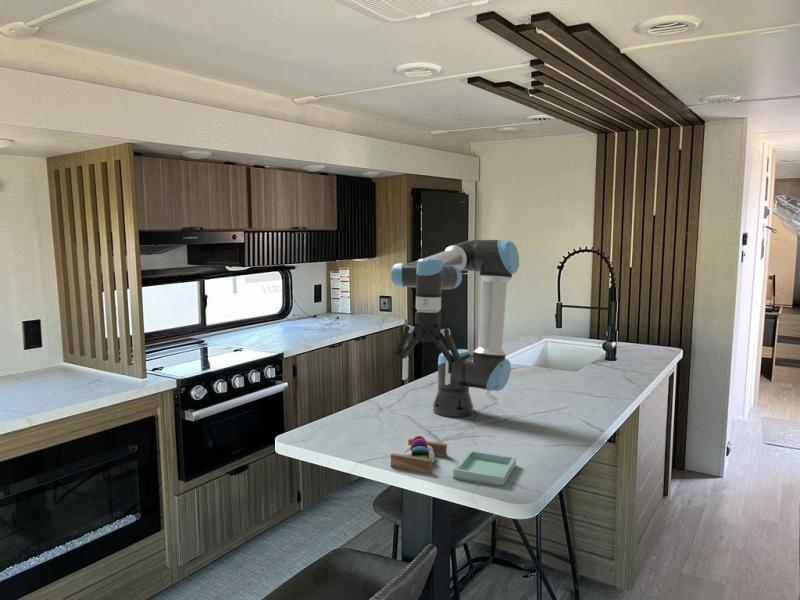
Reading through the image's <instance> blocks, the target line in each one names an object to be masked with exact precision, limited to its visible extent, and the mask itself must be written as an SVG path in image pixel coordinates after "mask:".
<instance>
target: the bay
mask: <svg viewBox="0 0 800 600" xmlns="http://www.w3.org/2000/svg"><path fill="white" fill-rule="evenodd" d="M413 439H414V438H408V440H407V441H408V442H407V443H408V445H407V446H409V445H412V444H411V442H412V440H413ZM426 442H427V445H429V446H431V447H432V448H433V453H434V455H435V457H436V456H438V457H444V458H446V457H447V456H448V455H447V454H448V452H447V451H448V444H447V443H441V442H436V441H431V440H430V441H429V440H426ZM432 465H433V463H432V459H426V458H420V457H414V456H407V455H405V454H400V453H394V452H392V453H391V454H390V467H391V468H392V467H393V468H397V469H404V470H409V471H415V472H421V473H424V474H425V473H426V474H431V473H432V472H433V471H432V467H433V466H432Z"/></svg>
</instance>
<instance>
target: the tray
mask: <svg viewBox="0 0 800 600" xmlns="http://www.w3.org/2000/svg"><path fill="white" fill-rule="evenodd" d="M516 466H517V457H516V456H511V455H510V456H509V455H504V454H498V453H490V452H483V451H477V450H472V449H471V450H469V451H467V452H466V454H465V455H464V456H463V457H462V459H461V460H460V461H459V462H458V463H457V464H456V466H455V467H454V468H453V469H452V470H453V471H452V478H453V479H455V480H462V481H468V482H473V483H479V484H484V485H490V486H496V487H501V488H503V487H504V486H505V484H506V483H507V481H508V480H509V478H510V476H511V475H512V473H513V471H514V469H515V468H516Z"/></svg>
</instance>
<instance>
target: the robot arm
mask: <svg viewBox="0 0 800 600" xmlns="http://www.w3.org/2000/svg"><path fill="white" fill-rule="evenodd" d="M519 257H520V255H519V251H518V248H517V246H516V244H515V243H514V242H513V241H510V240H504V239H470V240H466V241H461V242H459V243H456V244H453V245H450V246H448V247H446V248H445V250H444V251H440V252H438V253H436V254H433V255H432V254H431V255H430V256H429V255H428V256H427V257H424V258H419V259H418V260H415V261H412V262H409V263H407V262H400V263H399V262H398V263H395V264H394V265H393V267H392V268H391V272H390V276H391V277H390V279H391V282H392V283H393V284H394V286H396V287H402V288H416V290H415V291H416V293H415V309H416V311H415V312H414V313H415V315H414V323H415V324H414V326H412V325H410V324H409V325H406V326H404V329H403V330H404V331H403V334H402V337H401V338H400V340H399V342H398V344H397V346H396V348H395V350H394V352H393V354H394V356H398V357H399V368H400V369H402V372H401V373H402V374H401V376H402V378H401V380H402V381H405V380H407V379H409V357H408V356H407V355H408V354H409V353H410V352H411V351H412V350H413V348H414V347H415V346H416V345H417V344H418V343H419V342H421V343H428V344H429V343H430V344H431V343H434V345H435V346H436V347H437V348H438V349H439V351H440V352H441V353H439V355H438V361H437V366H438V367H437V393H436V395H435V398H434V400H433V404H432V411H433V413H435V414H437V415H439V416H443V417H451V418H460V417H467V416H470V415H472V414H473V413H474V404H473V401H472V398H471V394H470V388H473V389H474V388H475V389H479V390H480V389H482V390H487V391H489V392H490V391H494V392H499V391H501V390H503V389H504V388H505V387H506V385H507V384H508V381H509V378H510V375H511V366H512V365H511V362H510V360H508V359H506V355H507V354H506V353H505V351H504V350H503V339H504V338H503V337H504V325H505V312H506V301H507V300H506V299H507V289H508V288H507V287H508V282H510V281H511V280H512V279H513V275H514V274H516V273H517V272H518V270H519V267H520V258H519ZM462 271H465V272H466V271H467V272H470V271H471V272H478V273H479V279H481V280H482V282H483V283H482V292H481V293H482V294H481V304H480V320H479V328H478V344H477V348H475V349H474V350H473V352H472V353H473V354H471V351H470V350H469V349H465V348H463V349H460V348H457V347H456V344H455V342H454V339H453V337H452V329H451V328H450V327H447V328H441V316H442V315H441V314H442V312H440V311H441V309H442V290H450V291H451V290H453V289H456V288H458V287H459V286H460V285H461V283H462V280H463V276H462V275H463V274H462ZM413 332H414V334H415V336H414V337H413V338H412V340H411V341H410V342H409V344H408V345H407V346H406V343H407V342H408V340H409V337H410V335H411V334H412V333H413ZM441 334H442V336H443V337H444V339H445V341H446V344H447V346H446V344H444V342H443V340H442V338H440V336H441ZM405 346H406V347H405ZM404 347H405V348H404ZM447 347H448V348H447Z"/></svg>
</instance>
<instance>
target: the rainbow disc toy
mask: <svg viewBox="0 0 800 600" xmlns="http://www.w3.org/2000/svg"><path fill="white" fill-rule="evenodd" d="M412 439H413V440H412V442H411V444H412V445H409V446H408V445H407V446H405V448H404V455H407V456H414V457H420V458H426V459H432V464H433V463H434V462H435V458H436V455H434V453H433V448H432V447H431V446H429V445H427V442H426V441H427V439H426V438H425V437H423V436H421V435H418V436H414V437H413V438H412Z"/></svg>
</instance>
